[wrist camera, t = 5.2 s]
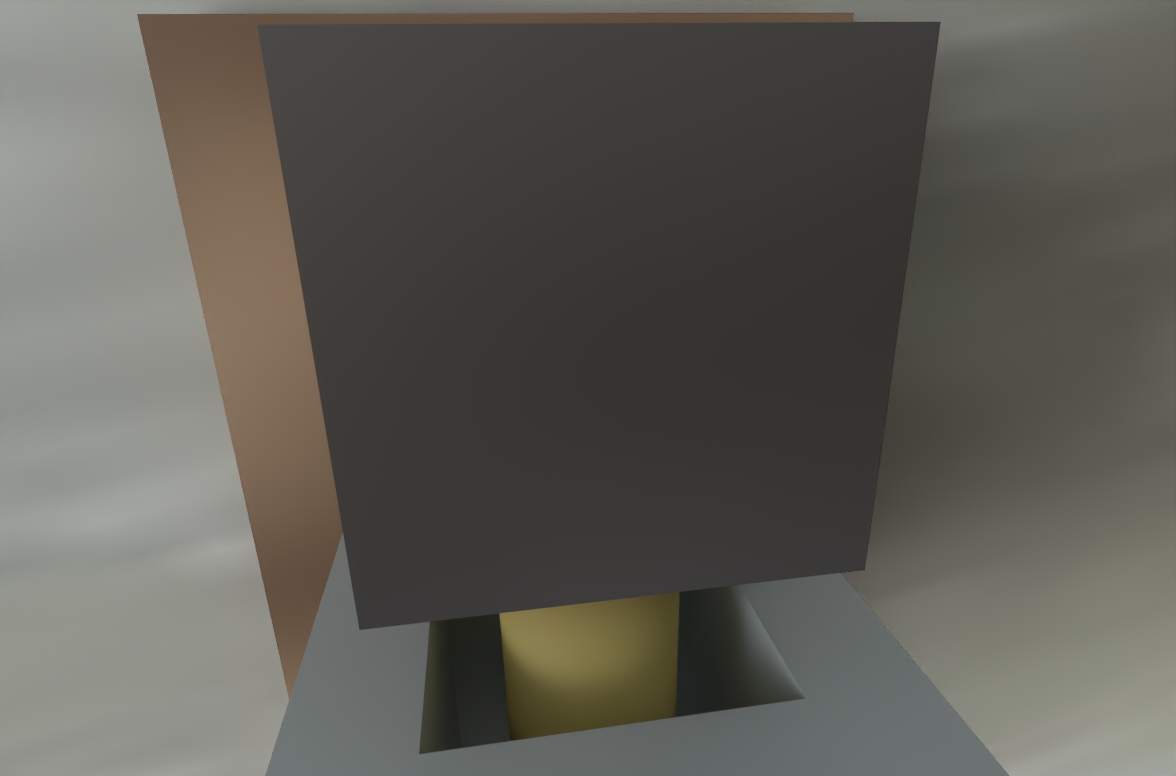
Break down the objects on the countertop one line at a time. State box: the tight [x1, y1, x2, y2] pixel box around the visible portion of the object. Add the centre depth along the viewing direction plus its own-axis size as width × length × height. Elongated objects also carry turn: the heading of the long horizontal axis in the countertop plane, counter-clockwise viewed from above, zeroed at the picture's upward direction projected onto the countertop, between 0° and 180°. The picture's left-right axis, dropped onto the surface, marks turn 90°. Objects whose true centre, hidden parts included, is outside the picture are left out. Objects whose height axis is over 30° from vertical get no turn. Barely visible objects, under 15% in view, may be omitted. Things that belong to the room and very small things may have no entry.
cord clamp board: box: [137, 13, 940, 741], centre depth 10 cm, size 18×9×8 cm, turn 1°
